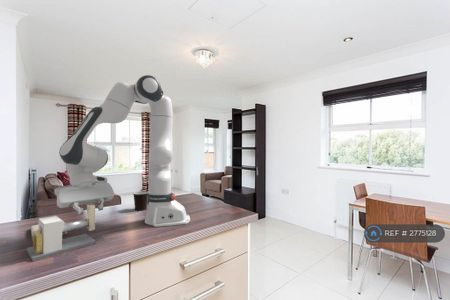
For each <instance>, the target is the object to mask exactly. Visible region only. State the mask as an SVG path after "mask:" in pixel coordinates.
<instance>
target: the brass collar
mask: <svg viewBox="0 0 450 300" xmlns="http://www.w3.org/2000/svg"><path fill="white" fill-rule="evenodd" d="M42 239H43V234H42V233H41V232H40V231H39V230H36V231H33V241H32V247H33V250H34V251H35V253H36V254H40V253H42Z"/></svg>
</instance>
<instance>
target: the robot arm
mask: <svg viewBox="0 0 450 300" xmlns="http://www.w3.org/2000/svg"><path fill="white" fill-rule="evenodd" d="M134 103H137V104H143V105H145V104H148V105H149V108H150V116H149V117H150V119H149V149H148V151H149V152H148V191H147V192H148V196H147V208H146V210H147V211H146V215H145V219H144V223H145V224H146V225H149V226H153V227H154V228H159V227H168V226H179V225H187V224H189V223H190V221H191V217H190V215H189V214H188V213H187V212H186V208H185V206H184V205H183V204H181V203H180V202H179V201H177V200H176V195H175V193H174V192H172V171H171V170H172V169H171V168H172V167H171V162H172V160H173V158H174V148H173V147H174V143H173V142H174V141H173V140H174V139H173V125H174V124H173V121H174V113H173V112H174V110H173V109H174V108H173V102H172V99H171V98H170V97H169V96H167V95H164V91H163V89H162V86H161V84H160V82H159V80H158V79H157V78H156V77H155V76H153V75H151V74H150V75H148V74H145V75H142V76H141V77H139V78H138V80H137V81H136V82H135V83H134V84H130V83H128V82H125V81H118V82H116V83H115V84H114V85H113V87H112V88H111V89H110V91H109V92H108V93H107V96H106V97H105V100H104V102H103V103H102V104H100V106H95V107H93V108H92V109H90V110H89V112H88V113H87V114H86V115H85V117H84V118H83V119H82V121H81V122H80V123H79V125H78V126H77V127H76V129H75V130H74V131H73V133H72V134H71V135H70V137H69V138H67V140H65V142H64V143H62V145H61V146H60V148H59V156H60V159H61V160H62V162H64V164H65V166H66V167H65V168H66V172H67V175H68V176H69V185H60V186H57V187H56V188H54V189H53V191H54V195H55V196H56V206H57V207H58V208H59V209H65V208H70V207H72V208H73V209H74V210H75V211H76V212H77V214H78V215H83V214H84V212H85V210H84V207H80V206H83V205H87V204H92V203H93V204H96V203H98V204H99V205H98V206H97V209H98V211H103V210H104V202H109V201H112V200H113V198H114V196H115V192H114V189H113V187H112V185H111V183H110V182H108V178H107V177H106V176H98V175H96V174H95V175H94V173H97V172H98V171H100V170H101V169H102V168H104V167H105V166H106V165H107V164H108V160H109V155H108V152H107V150H106V149H103V148H101V147H98V146H96V145H92V144H89V143H86V141H87V140H88V138H89V137H90V136H91V134H92V133H93V132H94V129H96V127H97V126H99V125H100V124H119V123H122V122H124V121H125V120H126V119H127V118H128V116H129V114H130V111H131V109H132V106H133V105H134Z"/></svg>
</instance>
